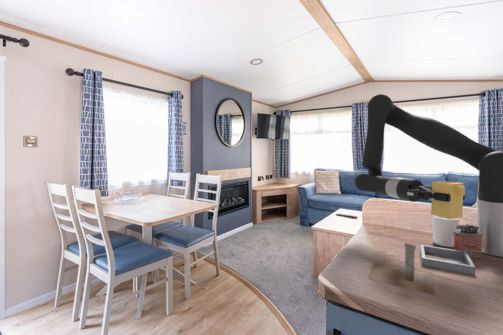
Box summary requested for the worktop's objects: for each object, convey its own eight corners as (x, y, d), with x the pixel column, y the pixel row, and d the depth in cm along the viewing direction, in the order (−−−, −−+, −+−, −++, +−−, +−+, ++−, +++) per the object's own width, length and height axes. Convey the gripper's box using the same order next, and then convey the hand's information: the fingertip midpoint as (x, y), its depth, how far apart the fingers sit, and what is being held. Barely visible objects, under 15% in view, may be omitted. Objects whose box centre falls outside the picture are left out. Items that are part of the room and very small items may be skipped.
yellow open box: (431, 214, 74) (432, 181, 73) (443, 212, 76) (444, 180, 75) (455, 220, 68) (457, 184, 67) (468, 218, 69) (470, 183, 68)
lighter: (476, 252, 81) (477, 223, 80) (484, 257, 78) (486, 226, 77) (450, 252, 82) (451, 222, 81) (457, 256, 78) (458, 226, 78)
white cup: (433, 238, 95) (434, 212, 94) (459, 243, 89) (461, 216, 88) (429, 243, 89) (429, 217, 88) (457, 249, 84) (458, 221, 83)
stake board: (431, 277, 66) (432, 240, 66) (434, 298, 57) (436, 255, 56) (373, 265, 74) (374, 231, 73) (368, 282, 65) (369, 244, 64)
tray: (466, 261, 75) (466, 251, 75) (474, 278, 65) (475, 267, 65) (420, 253, 81) (420, 244, 81) (422, 267, 72) (422, 257, 71)
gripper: (387, 179, 83) (439, 186, 67) (419, 176, 87) (474, 182, 71) (387, 201, 84) (438, 212, 67) (418, 197, 88) (473, 208, 72)
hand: (456, 197), depth 69 cm, fingers closed on yellow open box, 5 cm apart
